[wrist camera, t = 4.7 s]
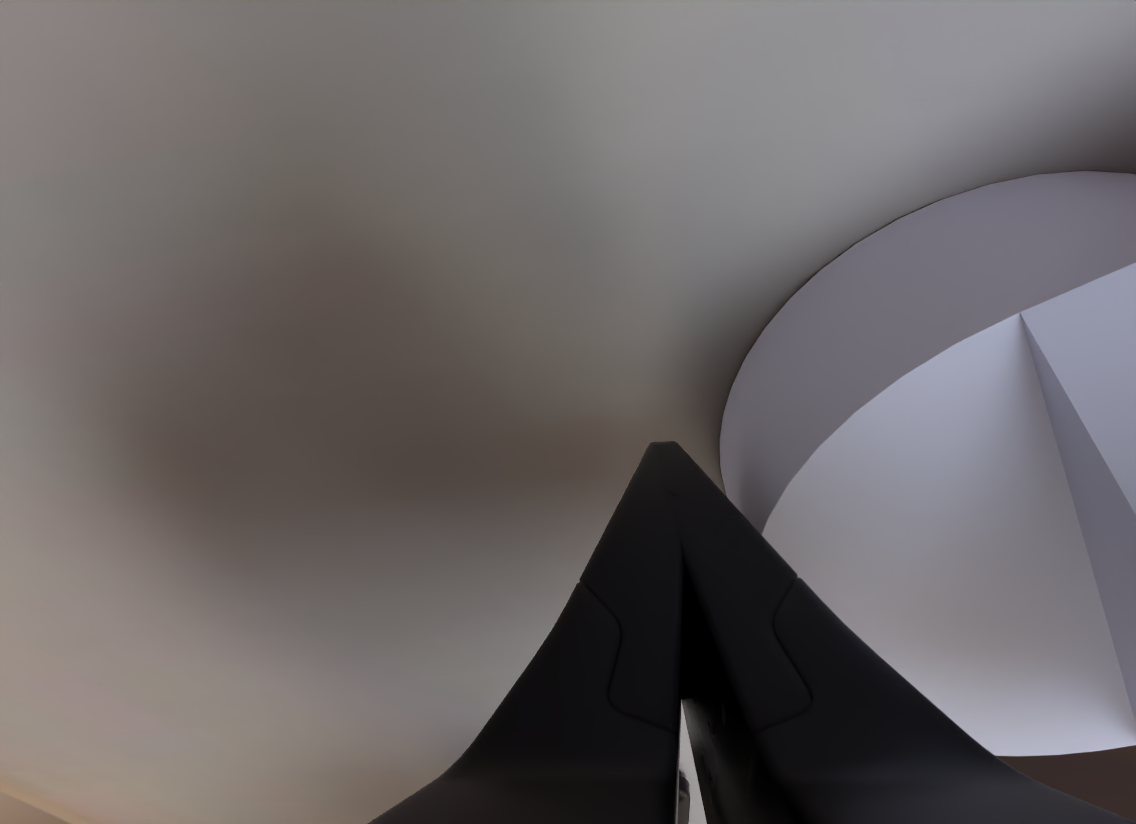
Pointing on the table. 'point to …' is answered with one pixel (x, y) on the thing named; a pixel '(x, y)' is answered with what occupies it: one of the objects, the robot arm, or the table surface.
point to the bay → (1087, 776)
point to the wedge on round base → (966, 454)
